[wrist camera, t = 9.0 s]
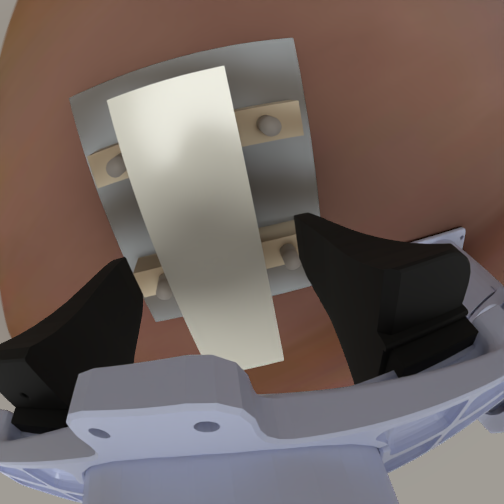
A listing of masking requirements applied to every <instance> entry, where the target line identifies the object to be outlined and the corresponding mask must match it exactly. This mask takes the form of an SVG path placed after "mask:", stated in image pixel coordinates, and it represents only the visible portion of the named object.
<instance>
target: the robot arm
mask: <svg viewBox="0 0 504 504" xmlns="http://www.w3.org/2000/svg"><path fill="white" fill-rule="evenodd" d="M294 223H295V230H296V238H297V245H298V253H299V259H300V261H301V264H302V266H303V269H304V271H305V274H306V276H307V278H308V280H309V282H310V283H311V285H312V287H313V289H314V290H315V292H316V294H317V296H318V297H319V299H320V301H321V303H322V304H323V306H324V308H325V310H326V311H327V313H328V315H329V317H330V319H331V321H332V324H333V326H334V328H335V331H336V333H337V336H338V338H339V341H340V344H341V346H342V349H343V352H344V354H345V357H346V360H347V363H348V366H349V369H350V372H351V375H352V378H353V381H354V384H355V385H353V386H349V387H342V388H334V389H325V390H316V391H306V392H294V393H279V394H258V395H257V394H256V393H255V391H254V390H253V387H252V385H251V382H250V379H249V377H248V375H247V374H246V373H245V371H244V370H243V369H242V368H241V367H240V366H239V365H238V364H237V363H236V362H233V361H230V360H227V359H224V358H221V357H218V356H215V355H184V356H179V357H173V358H167V359H161V360H154V361H148V362H141V363H134V355H135V350H136V344H137V339H138V334H139V329H140V323H141V318H142V310H143V293H142V291H141V289H140V287H139V285H138V283H137V281H136V278H135V276H134V274H133V272H132V270H131V268H130V265H129V263H128V261H127V259H126V257H123V258H119V259H116V260H113V261H111V262H110V263H108V264H107V265H106V266H105V267H104V268H103V269H101V270H100V271H99V272H98V273H97V274H96V275H95V276H94V277H93V278H92V279H91V280H90V281H89V282H88V283H87V284H86V285H85V286H84V287H82V288H81V289H80V290H79V291H78V292H77V293H76V294H75V295H74V296H73V297H72V298H71V299H69V300H68V301H67V302H66V303H65V304H64V305H62V306H61V307H60V308H59V309H57V310H56V311H55V312H54V313H52V314H51V315H50V316H48V317H47V318H45V319H44V320H42V321H41V322H39V323H38V324H37V325H35V326H33V327H32V328H30V329H28V330H27V331H25V332H23V333H21V334H20V335H18V336H16V337H14V338H12V339H10V340H8V341H6V342H3V343H1V344H0V393H1V394H2V395H3V396H4V397H5V398H6V399H7V400H8V401H9V402H11V403H12V404H13V405H14V406H15V407H16V408H15V411H14V413H12V412H10V411H8V410H2V409H0V472H1V473H3V474H4V475H6V476H7V477H9V478H11V479H12V480H14V481H16V482H18V483H19V484H21V485H23V486H26V487H29V488H33V489H35V490H39V491H42V492H45V493H48V494H51V495H55V496H58V497H61V498H64V499H68V500H72V501H75V502H79V503H82V504H399V502H398V500H397V497H396V494H395V492H394V489H393V487H392V484H391V482H390V479H389V476H388V474H387V473H389V472H391V471H393V470H395V469H397V468H399V467H401V466H403V465H405V464H407V463H409V462H411V461H413V460H414V459H416V458H418V457H420V456H422V455H423V454H425V453H427V452H429V451H430V450H432V449H433V448H435V447H437V446H438V445H440V444H442V443H443V442H445V441H446V440H448V439H449V438H451V437H452V436H454V435H455V434H457V433H458V432H460V431H461V430H463V429H464V428H466V427H467V426H468V425H470V424H471V423H473V422H474V421H475V420H477V419H478V420H479V421H480V422H481V424H482V425H483V426H484V427H485V428H486V429H487V430H488V431H489V432H490V433H502V432H504V286H503V285H502V284H501V283H500V282H499V281H498V280H497V279H496V278H494V277H493V276H492V275H491V274H490V273H489V272H488V271H487V270H486V269H485V268H483V267H482V266H481V265H480V264H479V263H478V262H477V261H475V260H474V259H473V258H472V257H471V256H470V255H468V254H467V253H466V252H465V251H464V250H462V248H463V243H464V238H465V229H464V228H463V227H460V228H457V229H454V230H451V231H447V232H444V233H441V234H437V235H434V236H431V237H427V238H424V239H420V240H417V241H414V242H410V243H409V242H400V241H394V240H388V239H383V238H378V237H374V236H370V235H367V234H363V233H360V232H357V231H354V230H351V229H348V228H345V227H343V226H340V225H338V224H335V223H333V222H331V221H328V220H326V219H324V218H321V217H319V216H317V215H314V214H312V213H308V212H307V213H303V214H298V215H294Z"/></svg>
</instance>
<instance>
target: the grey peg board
mask: <svg viewBox="0 0 504 504" xmlns="http://www.w3.org/2000/svg"><path fill="white" fill-rule="evenodd" d="M220 66H224V67H225V71H226V76H227V81H228V85H229V90H230V94H231V99H232V104H233V108H234V113H235V118H236V123H237V127H238V132H239V137H240V142H241V146H242V151H243V156H244V161H245V166H246V170H247V175H248V180H249V185H250V190H251V195H252V200H253V205H254V209H255V214H256V219H257V224H258V229H259V234H260V239H261V244H262V249H263V254H264V259H265V264H266V269H267V275H268V280H269V285H270V290H271V295H272V296H274V295H278V294H282V293H285V292H289V291H293V290H297V289H301V288H305V287H309V286H312V285H311V283H310V282H309V280H308V278H307V276H306V274H305V271H304V269H303V266H302V264H301V261H300V259H299V253H298V245H297V238H296V230H295V223H294V215H298V214H303V213H307V212H308V213H312V214H314V215H317V216H319V217H320V210H319V200H318V191H317V182H316V174H315V166H314V158H313V150H312V143H311V136H310V129H309V122H308V116H307V110H306V103H305V98H304V92H303V86H302V81H301V75H300V70H299V65H298V59H297V54H296V50H295V45H294V40H293V38H284V39H274V40H265V41H257V42H250V43H244V44H238V45H232V46H226V47H221V48H216V49H211V50H207V51H202V52H198V53H194V54H190V55H186V56H182V57H178V58H175V59H171V60H167V61H164V62H161V63H157V64H154V65H151V66H148V67H145V68H142V69H139V70H136V71H133V72H130V73H128V74H125V75H122V76H119V77H117V78H114V79H112V80H109V81H107V82H104V83H102V84H99V85H97V86H95V87H92V88H90V89H88V90H86V91H83V92H81V93H79V94H77V95H75V96H73V97H71V98H69V100H70V104H71V108H72V112H73V116H74V119H75V123H76V127H77V130H78V134H79V137H80V140H81V144H82V147H83V150H84V153H85V157H86V160H87V163H88V166H89V169H90V172H91V175H92V177H93V180H94V183H95V186H96V189H97V191H98V194H99V197H100V200H101V202H102V205H103V207H104V210H105V213H106V215H107V218H108V220H109V223H110V225H111V228H112V230H113V232H114V235H115V237H116V239H117V242H118V244H119V246H120V249H121V251H122V253H123V256H124V257H126V259H127V261H128V263H129V265H130V268H131V270H132V272H133V274H134V276H135V278H136V281H137V283H138V285H139V287H140V289H141V291H142V293H143V298H144V300H145V302H146V304H147V306H148V308H149V310H150V312H151V313H152V315H153V317H154V319H155V321H156V322H158V321H163V320H168V319H173V318H177V317H182V316H183V315H182V313H181V310H180V308H179V306H178V304H177V301H176V299H175V297H174V295H173V292H172V290H171V288H170V285H169V283H168V281H167V278H166V276H165V273H164V271H163V268H162V266H161V264H160V261H159V259H158V256H157V254H156V251H155V248H154V246H153V243H152V241H151V238H150V235H149V233H148V230H147V227H146V225H145V222H144V219H143V216H142V214H141V211H140V208H139V205H138V202H137V200H136V197H135V194H134V191H133V188H132V185H131V182H130V179H129V176H128V173H127V169H126V166H125V163H124V160H123V157H122V153H121V150H120V147H119V143H118V140H117V136H116V133H115V129H114V126H113V122H112V118H111V115H110V111H109V107H108V103H107V100H109V99H111V98H114V97H116V96H119V95H122V94H124V93H127V92H130V91H133V90H136V89H139V88H142V87H145V86H148V85H151V84H154V83H157V82H161V81H164V80H167V79H171V78H174V77H178V76H182V75H186V74H189V73H193V72H198V71H202V70H206V69H211V68H215V67H220Z"/></svg>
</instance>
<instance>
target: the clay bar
mask: <svg viewBox="0 0 504 504" xmlns="http://www.w3.org/2000/svg"><path fill="white" fill-rule="evenodd" d="M107 103H108V107H109V111H110V115H111V118H112V122H113V126H114V129H115V133H116V136H117V140H118V143H119V147H120V150H121V153H122V157H123V160H124V163H125V166H126V169H127V173H128V176H129V179H130V182H131V185H132V188H133V191H134V194H135V197H136V200H137V202H138V205H139V208H140V211H141V214H142V216H143V219H144V222H145V225H146V227H147V230H148V233H149V235H150V238H151V241H152V243H153V246H154V248H155V251H156V254H157V256H158V259H159V261H160V264H161V266H162V268H163V271H164V273H165V276H166V278H167V281H168V283H169V285H170V288H171V290H172V292H173V295H174V297H175V299H176V301H177V304H178V306H179V308H180V310H181V313H182V315H183V317H184V319H185V322H186V324H187V326H188V328H189V330H190V332H191V334H192V337H193V339H194V341H195V343H196V345H197V347H198V349H199V351H200V353H201V355H215V356H218V357H221V358H224V359H227V360H230V361H233V362H236V363H237V364H238V365H239V366H240V367H241V368H242V369H243V370H245V369H250V368H254V367H259V366H263V365H267V364H271V363H275V362H279V361H283V360H284V358H283V352H282V347H281V342H280V336H279V331H278V326H277V321H276V316H275V310H274V305H273V300H272V295H271V290H270V285H269V280H268V275H267V269H266V264H265V259H264V254H263V249H262V244H261V239H260V234H259V229H258V224H257V219H256V214H255V209H254V205H253V200H252V195H251V190H250V185H249V180H248V175H247V170H246V166H245V161H244V156H243V151H242V146H241V142H240V137H239V132H238V127H237V123H236V118H235V113H234V108H233V104H232V99H231V94H230V90H229V85H228V81H227V76H226V71H225V67H224V66H220V67H215V68H211V69H206V70H202V71H198V72H193V73H189V74H186V75H182V76H178V77H174V78H171V79H167V80H164V81H161V82H157V83H154V84H151V85H148V86H145V87H142V88H139V89H136V90H133V91H130V92H127V93H124V94H122V95H119V96H116V97H114V98H111V99H109V100H107Z"/></svg>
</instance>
